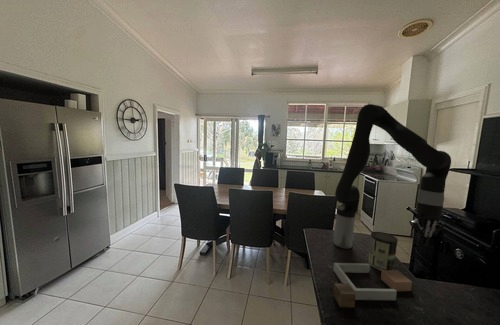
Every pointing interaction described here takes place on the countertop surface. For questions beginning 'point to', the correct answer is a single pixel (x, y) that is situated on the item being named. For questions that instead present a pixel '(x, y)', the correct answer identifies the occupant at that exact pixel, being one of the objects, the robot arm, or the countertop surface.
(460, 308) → the countertop surface
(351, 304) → the walnut block
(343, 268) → the tray
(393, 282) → the brown rectangular block
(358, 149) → the robot arm
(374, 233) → the coffee can
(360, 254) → the countertop surface
